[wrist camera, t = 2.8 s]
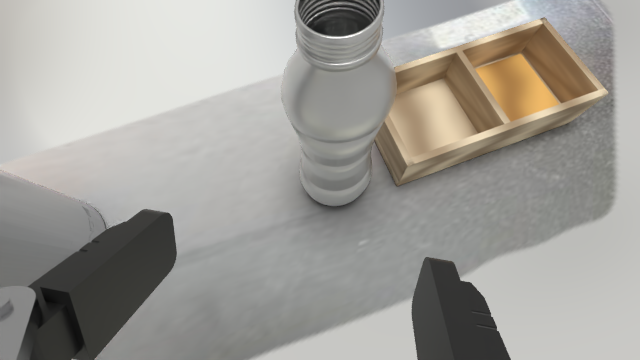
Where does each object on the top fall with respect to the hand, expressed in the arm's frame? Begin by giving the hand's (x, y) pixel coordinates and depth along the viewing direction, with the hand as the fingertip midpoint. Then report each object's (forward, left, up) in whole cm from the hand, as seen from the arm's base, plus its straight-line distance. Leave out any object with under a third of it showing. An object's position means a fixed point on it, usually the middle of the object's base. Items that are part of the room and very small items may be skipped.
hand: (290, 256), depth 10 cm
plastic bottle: (+5, +9, -20) cm, 22 cm away
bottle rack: (+20, +11, -19) cm, 30 cm away
